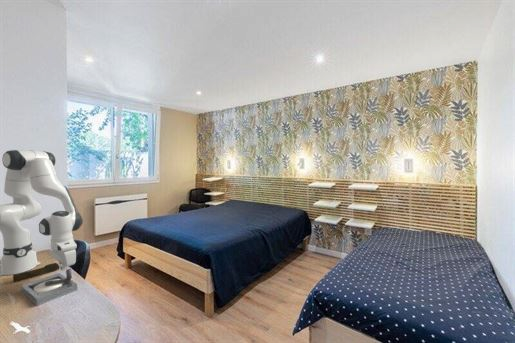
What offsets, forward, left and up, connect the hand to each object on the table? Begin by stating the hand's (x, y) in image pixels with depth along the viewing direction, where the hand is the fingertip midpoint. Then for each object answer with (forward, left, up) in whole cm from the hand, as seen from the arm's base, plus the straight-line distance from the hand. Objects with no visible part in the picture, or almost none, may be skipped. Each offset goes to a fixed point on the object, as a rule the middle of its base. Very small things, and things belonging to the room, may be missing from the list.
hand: (63, 269), depth 126 cm
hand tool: (-23, -4, -7) cm, 25 cm away
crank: (+4, -6, -6) cm, 9 cm away
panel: (+3, -7, -7) cm, 10 cm away
